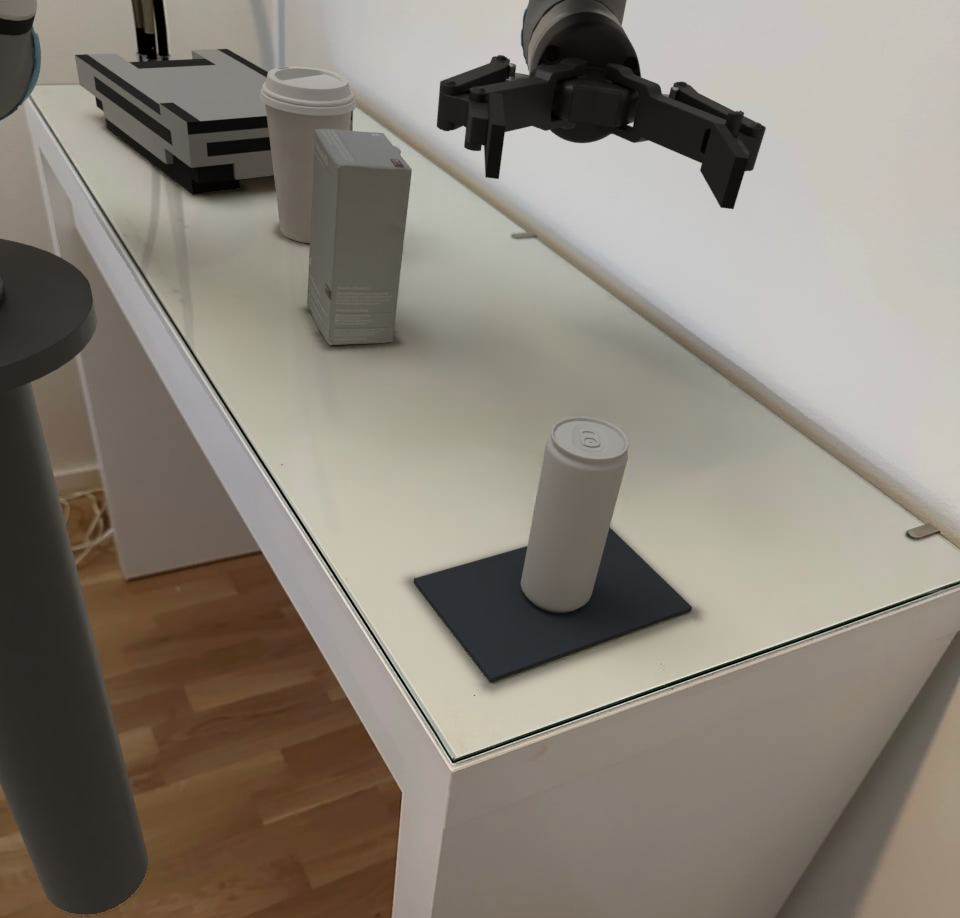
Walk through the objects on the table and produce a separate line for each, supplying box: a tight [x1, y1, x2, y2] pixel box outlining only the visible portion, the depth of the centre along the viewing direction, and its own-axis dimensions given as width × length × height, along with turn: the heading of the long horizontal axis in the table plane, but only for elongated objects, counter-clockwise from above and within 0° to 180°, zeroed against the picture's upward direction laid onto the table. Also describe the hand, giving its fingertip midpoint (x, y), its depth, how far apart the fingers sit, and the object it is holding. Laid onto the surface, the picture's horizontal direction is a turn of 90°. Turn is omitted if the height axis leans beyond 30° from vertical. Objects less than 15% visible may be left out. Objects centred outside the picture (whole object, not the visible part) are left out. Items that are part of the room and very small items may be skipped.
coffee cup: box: [260, 65, 357, 244], centre depth 96 cm, size 10×10×15 cm
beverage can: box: [521, 416, 629, 613], centre depth 57 cm, size 5×5×12 cm
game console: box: [74, 48, 354, 196], centre depth 114 cm, size 21×32×8 cm, turn 38°
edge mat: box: [413, 526, 693, 684], centre depth 61 cm, size 10×16×1 cm, turn 121°
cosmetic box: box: [306, 129, 413, 346], centre depth 81 cm, size 8×7×16 cm
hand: (616, 168), depth 51 cm, fingers open, 13 cm apart
